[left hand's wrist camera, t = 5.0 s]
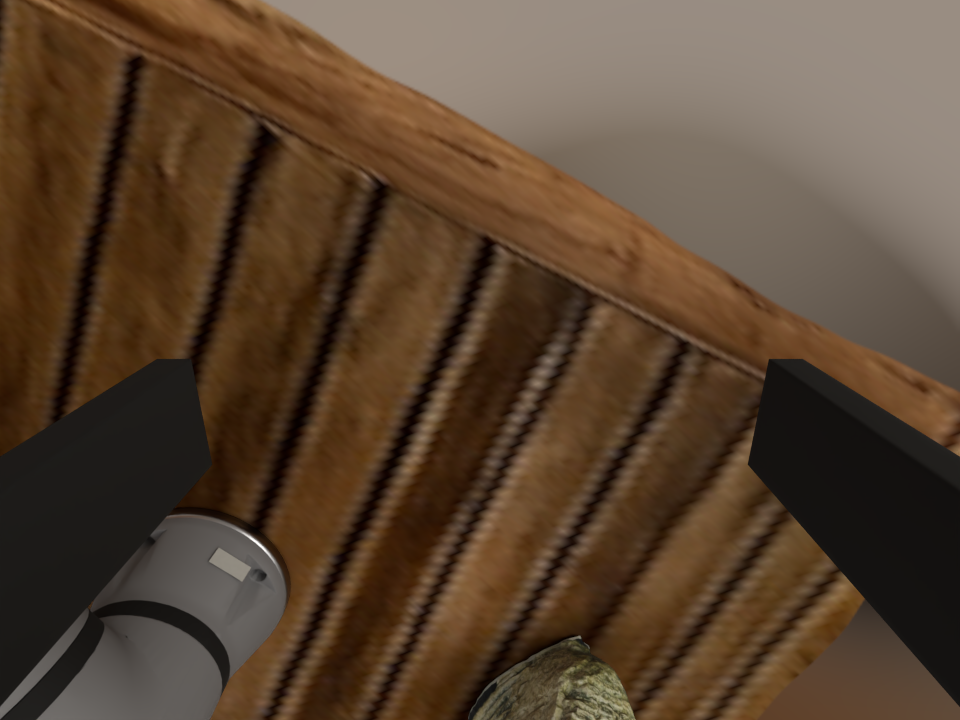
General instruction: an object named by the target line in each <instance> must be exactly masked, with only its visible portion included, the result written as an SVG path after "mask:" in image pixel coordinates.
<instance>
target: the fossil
mask: <svg viewBox="0 0 960 720" xmlns="http://www.w3.org/2000/svg"><path fill="white" fill-rule="evenodd" d="M468 719H469V720H635V717H634V715H633V711H632V708H631V706H630V703H629V701H628V698H627V695H626V692H625V690H624V688H623V686H622V684H621V682H620V679H619V677H618V676H617V674H616V672H615V671H614V669H612V668H611V667H610V666H609V665H608V664H607V663H605V662H603V661H602V660H601V659H599V658H597V657H595V656H593V655H591V653H590V649H589V646H588V645H587V644H585V643H584V642H583V641H582V639H581V636H577V637H573V638H569V639H566V640H563V641H561V642H560V643H558V644H556V645H553V646H551V647H549V648H546V649H544V650H542V651H541V652H539V653H537V654H535V655H532V656H531V657H530V658H529V659H528V660H526V661H523V662H521V663H519V664H516V665H515V666H513V667H512V668H511V669H509V670H508V671H506V672H505V673H503V674H502V675H500V676H499V677H498V678H496V679H495V680H494V681H493V682H491V683H490V684H489V685H488V686H487V687H486V688H485V689H484V691H483V692H482V694H481V695H480V696H479V698H478V699H477V702H476V704H475V705H474V706H473V707H472V709H471V711H470V714H469V717H468Z"/></svg>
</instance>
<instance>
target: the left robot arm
mask: <svg viewBox="0 0 960 720" xmlns="http://www.w3.org/2000/svg"><path fill="white" fill-rule="evenodd" d="M211 465H212V461H211V456H210V451H209V446H208V441H207V436H206V431H205V427H204V422H203V417H202V412H201V407H200V402H199V397H198V392H197V387H196V382H195V377H194V372H193V367H192V362H191V359H157V360H155V361H153V362H152V363H150V364H149V365H147V366H145V367H144V368H142V369H140V370H139V371H137V372H136V373H134V374H132V375H131V376H129V377H128V378H126V379H124V380H123V381H121V382H120V383H118V384H116V385H115V386H113V387H112V388H110V389H108V390H107V391H105V392H103V393H102V394H100V395H99V396H97V397H95V398H94V399H92V400H91V401H89V402H87V403H86V404H84V405H83V406H81V407H79V408H78V409H76V410H75V411H73V412H71V413H70V414H68V415H67V416H65V417H63V418H62V419H60V420H58V421H57V422H55V423H54V424H52V425H50V426H49V427H47V428H46V429H44V430H42V431H41V432H39V433H38V434H36V435H34V436H33V437H31V438H30V439H28V440H26V441H25V442H23V443H22V444H20V445H18V446H17V447H15V448H13V449H12V450H10V451H9V452H7V453H5V454H4V455H2V456H1V457H0V720H210V718H211V716H212V714H213V712H214V710H215V708H216V706H217V703H218V701H219V699H220V697H221V695H222V693H223V691H224V689H225V686H226V684H227V682H228V680H229V679H230V678H231V677H232V676H233V674H234V673H235V672H236V671H237V670H238V669H239V668H240V667H241V666H242V665H243V664H244V663H245V662H246V661H247V660H248V658H249V657H250V656H251V655H252V654H253V653H254V652H255V651H256V650H257V649H258V648H259V647H260V646H261V645H262V644H263V642H264V641H265V640H266V639H267V638H268V637H269V636H270V635H271V633H272V632H273V630H274V629H275V627H276V626H277V624H278V623H279V621H280V619H281V617H282V615H283V613H284V610H285V608H286V606H287V603H288V600H289V596H290V577H289V572H288V569H287V566H286V564H285V562H284V560H283V558H282V556H281V554H280V553H279V551H278V550H277V549H276V547H275V546H274V545H273V544H272V543H271V542H270V540H269V539H267V538H266V537H265V536H264V535H263V534H262V533H261V532H259V531H258V530H257V529H255V528H254V527H252V526H251V525H249V524H247V523H246V522H244V521H242V520H240V519H238V518H235V517H233V516H230V515H228V514H225V513H221V512H218V511H213V510H208V509H200V508H180V509H174V508H175V506H176V505H177V504H178V503H179V502H180V501H181V500H182V498H183V497H184V496H185V495H186V494H187V493H188V492H189V490H190V489H191V488H192V487H193V486H194V485H195V484H196V482H197V481H198V480H199V479H200V478H201V477H202V476H203V474H204V473H205V472H206V471H207V470H208V469H209V468H210V466H211ZM748 465H749V466H750V468H751V469H752V470H753V471H754V472H755V473H756V474H757V476H758V477H759V478H760V479H761V480H762V481H763V482H764V484H765V485H766V486H767V487H768V488H769V489H770V490H771V492H772V493H773V494H774V495H775V496H776V497H777V498H778V500H779V501H780V502H781V503H782V504H783V505H784V506H785V508H786V509H787V510H788V511H789V512H790V513H791V514H792V516H793V517H794V518H795V519H796V520H797V521H798V522H799V524H800V525H801V526H802V527H803V528H804V529H805V530H806V532H807V533H808V534H809V535H810V536H811V537H812V538H813V540H814V541H815V542H816V543H817V544H818V545H819V546H820V548H821V549H822V550H823V551H824V552H825V553H826V554H827V556H828V557H829V558H830V559H831V560H832V561H833V562H834V564H835V565H836V566H837V567H838V568H839V569H840V570H841V572H842V573H843V574H844V575H845V576H846V577H847V578H848V580H849V581H850V582H851V583H852V584H853V585H854V586H855V588H856V589H857V590H858V591H859V592H860V593H861V594H862V596H863V597H864V598H865V599H866V600H867V601H868V602H869V603H870V605H871V606H872V607H873V608H874V609H875V610H876V612H877V613H878V614H879V615H880V616H881V617H882V618H883V620H884V621H885V622H886V623H887V624H888V625H889V626H890V628H891V629H892V630H893V631H894V632H895V633H896V634H897V636H898V637H899V638H900V639H901V640H902V641H903V642H904V644H905V645H906V646H907V647H908V648H909V649H910V650H911V652H912V653H913V654H914V655H915V656H916V657H917V658H918V660H919V661H920V662H921V663H922V664H923V665H924V666H925V668H926V669H927V670H928V671H929V672H930V673H931V674H932V676H933V677H934V678H935V679H936V680H937V681H938V683H939V684H940V685H941V686H942V687H943V688H944V689H945V690H946V692H947V693H948V694H949V695H950V696H951V697H952V699H953V700H954V701H955V702H956V703H957V704H958V705H959V706H960V457H959V456H958V455H956V454H955V453H953V452H951V451H950V450H948V449H947V448H945V447H943V446H942V445H940V444H938V443H937V442H935V441H934V440H932V439H930V438H929V437H927V436H926V435H924V434H922V433H921V432H919V431H918V430H916V429H914V428H913V427H911V426H910V425H908V424H906V423H905V422H903V421H902V420H900V419H898V418H897V417H895V416H893V415H892V414H890V413H889V412H887V411H885V410H884V409H882V408H881V407H879V406H877V405H876V404H874V403H873V402H871V401H869V400H868V399H866V398H865V397H863V396H861V395H860V394H858V393H857V392H855V391H853V390H852V389H850V388H848V387H847V386H845V385H844V384H842V383H840V382H839V381H837V380H836V379H834V378H832V377H831V376H829V375H828V374H826V373H824V372H823V371H821V370H820V369H818V368H816V367H815V366H813V365H811V364H810V363H808V362H807V361H805V360H803V359H769V362H768V367H767V372H766V377H765V382H764V387H763V392H762V397H761V402H760V407H759V412H758V417H757V422H756V427H755V431H754V436H753V441H752V446H751V451H750V456H749V461H748ZM93 600H94V602H93V604H92V607H91V609H90V610H89V609H88V606H89V605H90V604H91V602H92V601H93Z"/></svg>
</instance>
